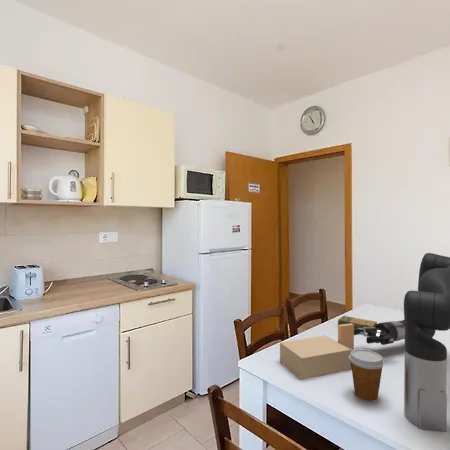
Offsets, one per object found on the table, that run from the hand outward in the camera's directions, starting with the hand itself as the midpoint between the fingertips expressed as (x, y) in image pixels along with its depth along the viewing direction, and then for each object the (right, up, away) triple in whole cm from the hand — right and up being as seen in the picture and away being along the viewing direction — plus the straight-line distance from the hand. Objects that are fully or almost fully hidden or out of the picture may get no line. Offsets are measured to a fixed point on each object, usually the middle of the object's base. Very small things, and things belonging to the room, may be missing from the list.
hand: (358, 336), depth 117 cm
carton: (+13, -8, +32) cm, 36 cm away
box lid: (-19, -8, -7) cm, 22 cm away
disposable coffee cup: (-9, -8, -26) cm, 29 cm away
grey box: (-15, -7, -5) cm, 18 cm away
